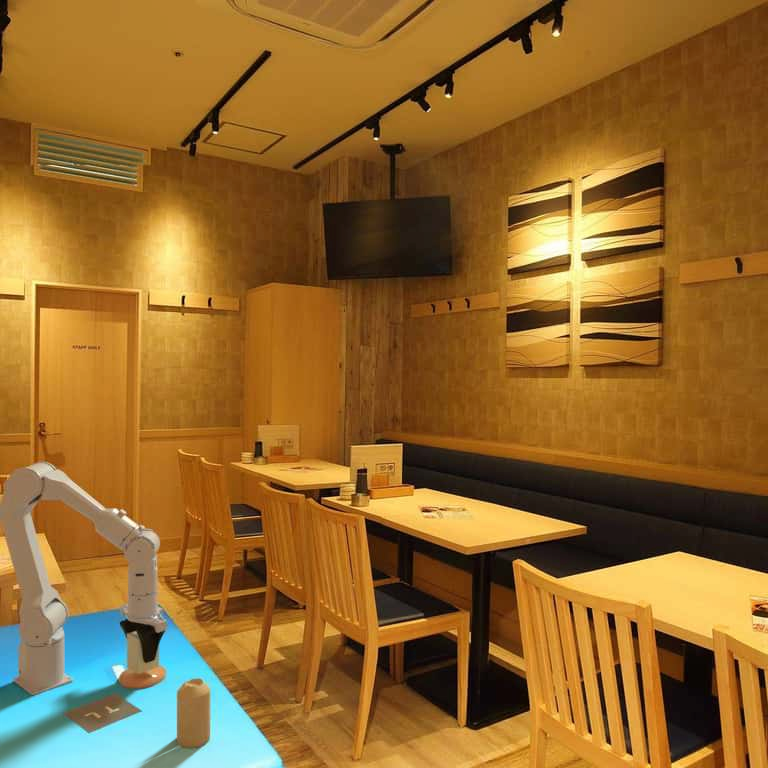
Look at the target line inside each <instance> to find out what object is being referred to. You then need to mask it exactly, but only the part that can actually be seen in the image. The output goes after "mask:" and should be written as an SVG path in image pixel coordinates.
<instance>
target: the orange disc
mask: <svg viewBox="0 0 768 768" xmlns="http://www.w3.org/2000/svg"><path fill="white" fill-rule="evenodd" d="M166 676H167V669H166V668H165V666H162V665H160V664H159V667H157V668H154V669H151V670H149V671H146V672H143V673H141V674H137V673H136V672H134V671H132V670H130V669H129V668H127V669H125V670H124V671H122V672H121V673H120V675H119V677H118V678H119V679H118V681H119V682H118V683H119V685H120V686H121V687H124V688H127V689H132V690H133V689H136V690H137V689H144V688H151V687H153V686H155V685H158V684H160V683H161V682H163V681H164V680H165V679H166Z"/></svg>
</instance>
